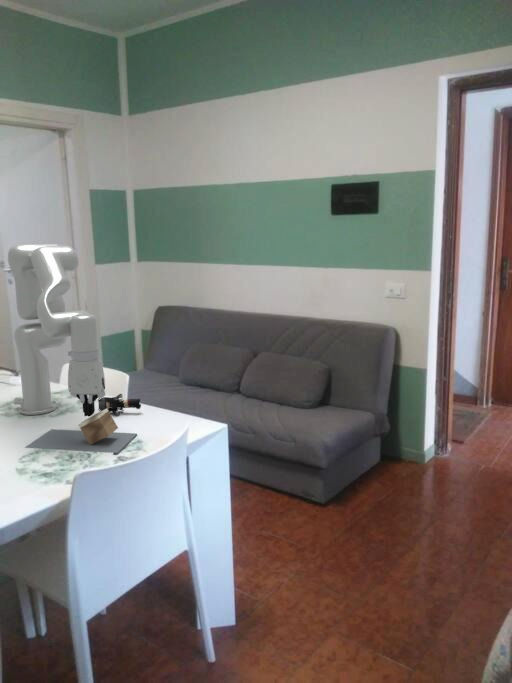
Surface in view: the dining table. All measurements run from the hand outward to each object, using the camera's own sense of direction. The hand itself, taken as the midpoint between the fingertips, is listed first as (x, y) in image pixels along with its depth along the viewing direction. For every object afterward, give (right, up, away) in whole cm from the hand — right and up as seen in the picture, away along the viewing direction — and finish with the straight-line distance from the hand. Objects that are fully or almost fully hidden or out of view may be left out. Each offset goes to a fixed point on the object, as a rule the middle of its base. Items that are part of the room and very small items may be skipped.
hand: (89, 414), depth 174 cm
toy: (+2, -4, +29) cm, 30 cm away
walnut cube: (+1, 0, 0) cm, 1 cm away
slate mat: (-3, -9, +2) cm, 9 cm away
